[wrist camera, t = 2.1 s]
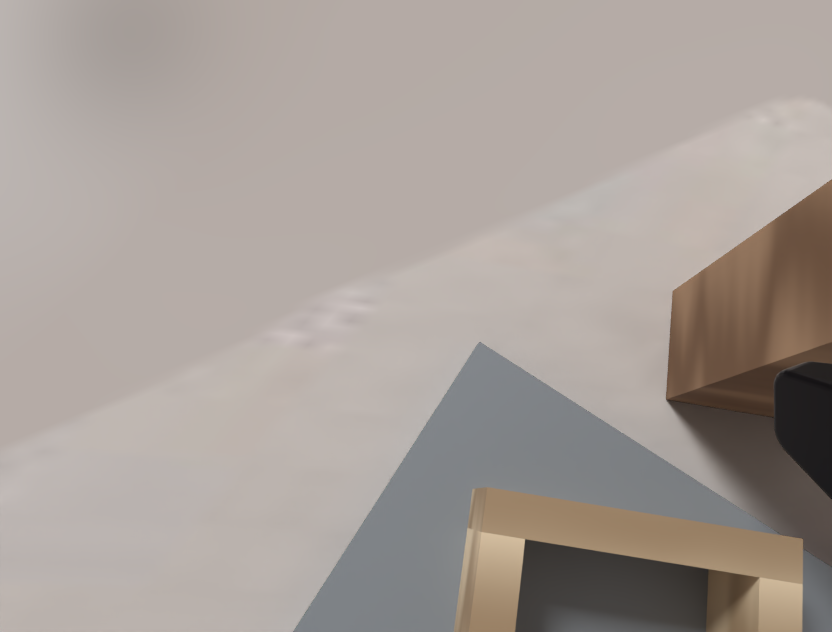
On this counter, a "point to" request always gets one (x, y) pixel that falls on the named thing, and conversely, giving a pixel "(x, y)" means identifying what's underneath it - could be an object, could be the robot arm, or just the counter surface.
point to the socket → (631, 536)
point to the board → (542, 562)
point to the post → (755, 313)
